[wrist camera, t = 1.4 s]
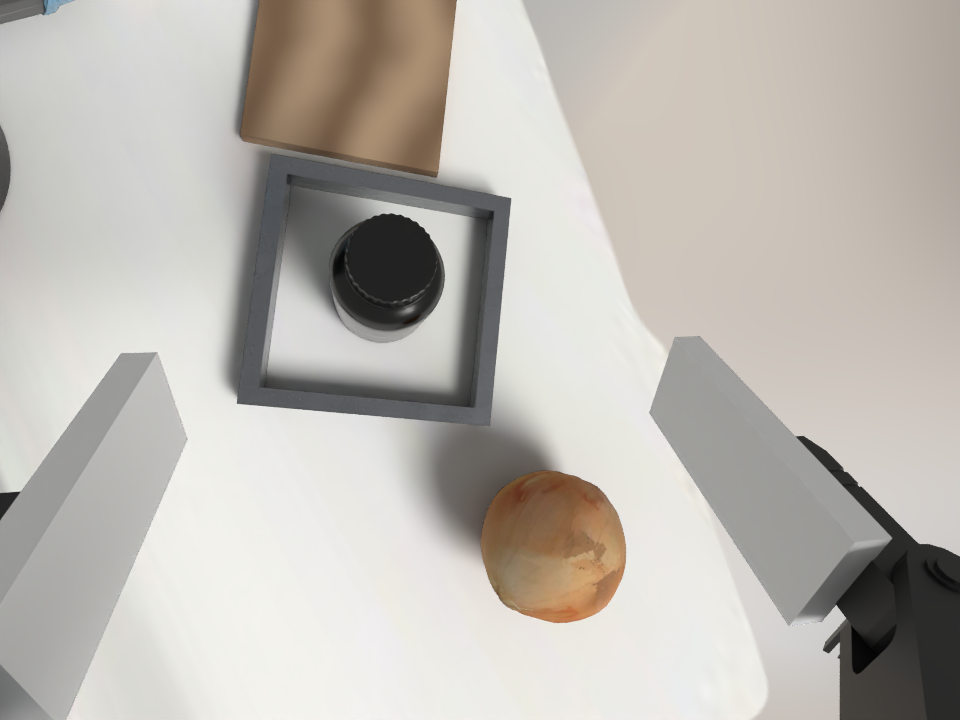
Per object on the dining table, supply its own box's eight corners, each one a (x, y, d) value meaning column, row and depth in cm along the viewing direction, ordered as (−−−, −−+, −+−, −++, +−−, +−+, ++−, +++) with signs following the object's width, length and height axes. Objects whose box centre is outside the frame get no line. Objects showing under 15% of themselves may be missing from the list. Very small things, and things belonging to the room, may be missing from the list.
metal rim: (243, 403, 36) (236, 403, 34) (276, 166, 37) (271, 153, 35) (483, 424, 39) (489, 426, 37) (504, 207, 41) (511, 198, 39)
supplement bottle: (354, 357, 37) (349, 341, 26) (321, 270, 37) (300, 213, 26) (441, 326, 39) (474, 297, 27) (409, 242, 39) (428, 177, 27)
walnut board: (243, 141, 37) (240, 134, 36) (269, -40, 38) (266, -51, 37) (436, 177, 40) (438, 172, 39) (454, 9, 41) (456, -1, 40)
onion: (441, 542, 38) (466, 594, 28) (520, 435, 40) (570, 448, 30) (538, 616, 39) (596, 690, 29) (611, 509, 41) (687, 545, 31)
